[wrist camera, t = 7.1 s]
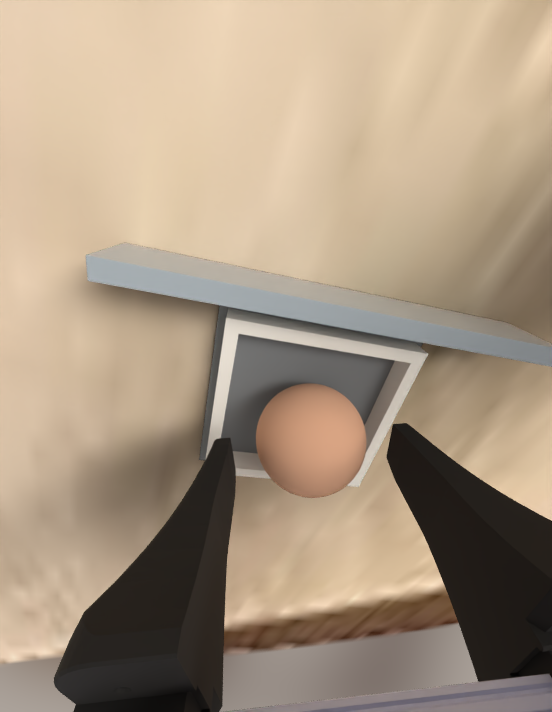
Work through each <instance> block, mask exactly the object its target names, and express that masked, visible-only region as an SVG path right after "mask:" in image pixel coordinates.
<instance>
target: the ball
mask: <svg viewBox="0 0 552 712" xmlns="http://www.w3.org/2000/svg"><path fill="white" fill-rule="evenodd" d="M256 447H257V452H258V456H259V459H260V462H261V464H262V466H263V468H264V469H265V471H266V473H267V474H268V475H269V477H270V478H271V479H272V480H273V481H274V482H275V483H276V484H277V485H279V486H280V487H281V488H283V489H284V490H286V491H288V492H290V493H292V494H295V495H298V496H302V497H308V498H317V497H324V496H328V495H331V494H334V493H336V492H338V491H340V490H341V489H343V488H344V487H345V486H347V485H348V484H349V483H350V482H351V481H352V480H353V479H354V478H355V476H356V475H357V473H358V472H359V470H360V468H361V466H362V463H363V461H364V458H365V453H366V432H365V427H364V424H363V421H362V419H361V416H360V414H359V413H358V411H357V409H356V408H355V407H354V405H353V404H352V403H351V402H350V401H349V400H348V399H347V398H346V397H345V396H344V395H342V394H341V393H340V392H338V391H336V390H334V389H332V388H330V387H327V386H325V385H320V384H313V383H305V384H298V385H294V386H291V387H289V388H287V389H285V390H283V391H281V392H280V393H278V394H277V395H276V396H274V397H273V398H272V399H271V401H270V402H269V403H268V404H267V405H266V407H265V408H264V410H263V412H262V414H261V416H260V418H259V421H258V425H257V430H256Z"/></svg>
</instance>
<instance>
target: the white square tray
mask: <svg viewBox="0 0 552 712" xmlns="http://www.w3.org/2000/svg"><path fill="white" fill-rule="evenodd" d="M422 344H423V343H421V342H416V341H410V340H405V339H399V338H394V337H389V336H383V335H378V334H372V333H367V332H362V331H356V330H351V329H345V328H340V327H335V326H329V325H324V324H318V323H313V322H308V321H302V320H297V319H291V318H286V317H281V316H275V315H270V314H265V313H259V312H254V311H248V310H243V309H238V308H232V307H227V306H221V305H220V306H219V313H218V321H217V329H216V336H215V344H214V351H213V359H212V366H211V374H210V382H209V389H208V397H207V404H206V412H205V419H204V427H203V434H202V442H201V450H200V457H199V460H206V458H207V456H208V454H209V452H210V450H211V447H212V445H213V443H214V441H215V440H216V439H219V438H231V444H232V450H233V456H234V462H235V468H236V476H245V477H255V478H266V479H271V478H270V477H269V475H268V474H267V473H266V471H265V469H264V468H263V466H262V464H261V462H260V459H259V456H258V452H257V447H256V430H257V425H258V421H259V418H260V416H261V414H262V412H263V410H264V408H265V407H266V405H267V404H268V403H269V402H270V401H271V399H272V398H273V397H274V396H276V395H277V394H278V393H280V392H281V391H283V390H285V389H287V388H289V387H291V386H294V385H298V384H305V383H313V384H320V385H325V386H327V387H330V388H332V389H334V390H336V391H338V392H340V393H341V394H342V395H344V396H345V397H346V398H347V399H348V400H349V401H350V402H351V403H352V404H353V405H354V407H355V408H356V409H357V411H358V413H359V414H360V416H361V419H362V421H363V424H364V427H365V432H366V453H365V458H364V461H363V463H362V466H361V468H360V470H359V472H358V473H357V475H356V476H355V478H354V479H353V480H352V481H351V482H350V483H349V484H348V485H347V486H354V487H359V486H360V484H361V482H362V480H363V478H364V476H365V474H366V472H367V470H368V468H369V466H370V465H371V463H372V461H373V459H374V457H375V455H376V453H377V451H378V449H379V447H380V445H381V444H382V442H383V440H384V438H385V436H386V434H387V432H388V430H389V428H390V426H391V424H392V423H393V421H394V419H395V417H396V415H397V413H398V411H399V409H400V407H401V405H402V403H403V402H404V400H405V398H406V396H407V394H408V392H409V390H410V388H411V386H412V384H413V382H414V381H415V379H416V377H417V375H418V373H419V371H420V369H421V367H422V365H423V363H424V361H425V360H426V358H427V356H428V353H427V352H426V351H424V350H423V349H422V348H421V346H422Z"/></svg>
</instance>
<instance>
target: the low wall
mask: <svg viewBox="0 0 552 712" xmlns="http://www.w3.org/2000/svg"><path fill="white" fill-rule="evenodd" d="M86 265H87V277H88V281H92V282H97V283H103V284H108V285H113V286H119V287H124V288H130V289H135V290H140V291H146V292H151V293H157V294H162V295H167V296H173V297H178V298H184V299H189V300H194V301H200V302H205V303H211V304H216V305H221V306H227V307H232V308H238V309H243V310H248V311H254V312H259V313H265V314H270V315H275V316H281V317H286V318H291V319H297V320H302V321H308V322H313V323H318V324H324V325H329V326H335V327H340V328H345V329H351V330H356V331H362V332H367V333H372V334H378V335H383V336H389V337H394V338H399V339H405V340H410V341H416V342H421V343H426V344H432V345H437V346H443V347H448V348H453V349H459V350H464V351H470V352H475V353H480V354H486V355H491V356H497V357H502V358H507V359H513V360H518V361H524V362H529V363H534V364H540V365H545V366H551V367H552V344H551V343H549V342H547V341H545V340H543V339H541V338H539V337H536V336H534V335H532V334H530V333H528V332H526V331H524V330H522V329H520V328H518V327H516V326H513V325H511V324H509V323H507V322H502V321H497V320H493V319H488V318H483V317H478V316H473V315H469V314H464V313H459V312H454V311H450V310H445V309H440V308H435V307H430V306H426V305H421V304H416V303H411V302H406V301H402V300H397V299H392V298H387V297H383V296H378V295H373V294H368V293H363V292H359V291H354V290H349V289H344V288H340V287H335V286H330V285H325V284H320V283H316V282H311V281H306V280H301V279H296V278H292V277H287V276H282V275H277V274H273V273H268V272H263V271H258V270H253V269H249V268H244V267H239V266H234V265H229V264H225V263H220V262H215V261H210V260H206V259H201V258H196V257H191V256H186V255H182V254H177V253H172V252H167V251H162V250H158V249H153V248H148V247H143V246H139V245H134V244H129V243H122V244H119V245H116V246H112V247H109V248H106V249H103V250H100V251H97V252H94V253H90V254H87V255H86Z"/></svg>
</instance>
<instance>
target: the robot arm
mask: <svg viewBox="0 0 552 712" xmlns="http://www.w3.org/2000/svg"><path fill="white" fill-rule="evenodd" d="M387 460H388V463H389V465H390V468H391V471H392V473H393V476H394V478H395V481H396V483H397V485H398V486H399V488H400V490H401V492H402V494H403V496H404V498H405V500H406V502H407V504H408V506H409V508H410V509H411V511H412V513H413V515H414V517H415V519H416V521H417V523H418V525H419V526H420V528H421V530H422V532H423V534H424V537H425V539H426V541H427V543H428V545H429V548H430V550H431V553H432V555H433V557H434V560H435V562H436V565H437V567H438V569H439V572H440V575H441V577H442V580H443V582H444V585H445V587H446V590H447V592H448V595H449V598H450V600H451V603H452V606H453V609H454V611H455V614H456V617H457V620H458V622H459V625H460V628H461V631H462V633H463V637H464V639H465V643H466V645H467V648H468V651H469V654H470V657H471V660H472V663H473V666H474V669H475V673H476V675H477V679H478V682H474V683H465V684H456V685H448V686H439V687H430V688H422V689H414V690H405V691H397V692H388V693H379V694H371V695H362V696H354V697H345V698H336V699H328V700H319V701H311V702H302V703H295V704H285V705H277V706H268V707H259V708H252V709H243V710H234V711H226V712H552V521H551V520H549V519H547V518H545V517H543V516H541V515H539V514H538V513H536V512H534V511H532V510H530V509H528V508H527V507H525V506H523V505H521V504H519V503H518V502H516V501H514V500H513V499H511V498H509V497H507V496H506V495H504V494H503V493H501V492H499V491H498V490H496V489H495V488H493V487H491V486H490V485H488V484H487V483H485V482H484V481H482V480H480V479H479V478H477V477H476V476H475V475H473V474H472V473H470V472H469V471H468V470H466V469H465V468H463V467H462V466H460V465H459V464H458V463H456V462H455V461H454V460H452V459H451V458H450V457H448V456H447V455H446V454H445V453H443V452H442V451H441V450H439V449H438V448H437V447H436V446H434V445H433V444H432V443H431V442H429V441H428V440H427V439H426V438H424V437H423V436H422V435H421V434H419V433H418V432H417V431H416V430H415V429H413V428H412V427H411V426H409V425H408V424H407V423H403V424H393V427H392V432H391V437H390V442H389V447H388V452H387ZM235 483H236V468H235V462H234V456H233V450H232V444H231V438H219V439H216V440H215V441H214V443H213V445H212V447H211V450H210V452H209V454H208V456H207V458H206V460H205V462H204V464H203V466H202V468H201V469H200V471H199V473H198V475H197V477H196V478H195V480H194V482H193V484H192V485H191V487H190V488H189V490H188V492H187V493H186V495H185V496H184V498H183V499H182V501H181V503H180V504H179V505H178V507H177V508H176V510H175V511H174V513H173V514H172V515H171V517H170V518H169V520H168V521H167V522H166V524H165V525H164V526H163V528H162V529H161V530H160V531H159V533H158V534H157V535H156V536H155V538H154V539H153V540H152V541H151V543H150V544H149V545H148V546H147V547H146V549H145V550H144V551H143V552H142V553H141V554H140V555H139V556H138V558H137V559H136V560H135V561H134V562H133V563H132V564H131V565H130V566H129V567H128V569H127V570H126V571H125V572H124V573H123V574H122V575H121V576H120V577H119V578H118V579H117V580H116V581H115V582H114V583H113V584H112V585H111V586H110V587H109V588H108V589H107V590H106V591H105V592H104V593H103V594H102V595H101V596H100V597H99V598H98V599H97V600H96V601H95V602H94V603H93V604H92V605H91V606H90V607H89V608H88V609H87V610H86V611H85V612H84V613H83V615H82V617H81V619H80V621H79V623H78V625H77V627H76V629H75V631H74V633H73V635H72V637H71V639H70V641H69V643H68V646H67V648H66V651H65V653H64V655H63V658H62V660H61V662H60V665H59V667H58V670H57V672H56V674H55V677H54V684H55V687H56V688H57V689H58V690H59V691H60V692H61V693H62V694H63V695H65V696H66V697H68V698H69V699H70V700H71V701H73V702H74V703H75V704H76V706H75V709H74V712H219V711H220V709H221V707H222V691H223V688H222V687H223V647H224V615H225V590H226V568H227V554H228V545H229V537H230V530H231V522H232V515H233V507H234V499H235Z"/></svg>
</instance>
